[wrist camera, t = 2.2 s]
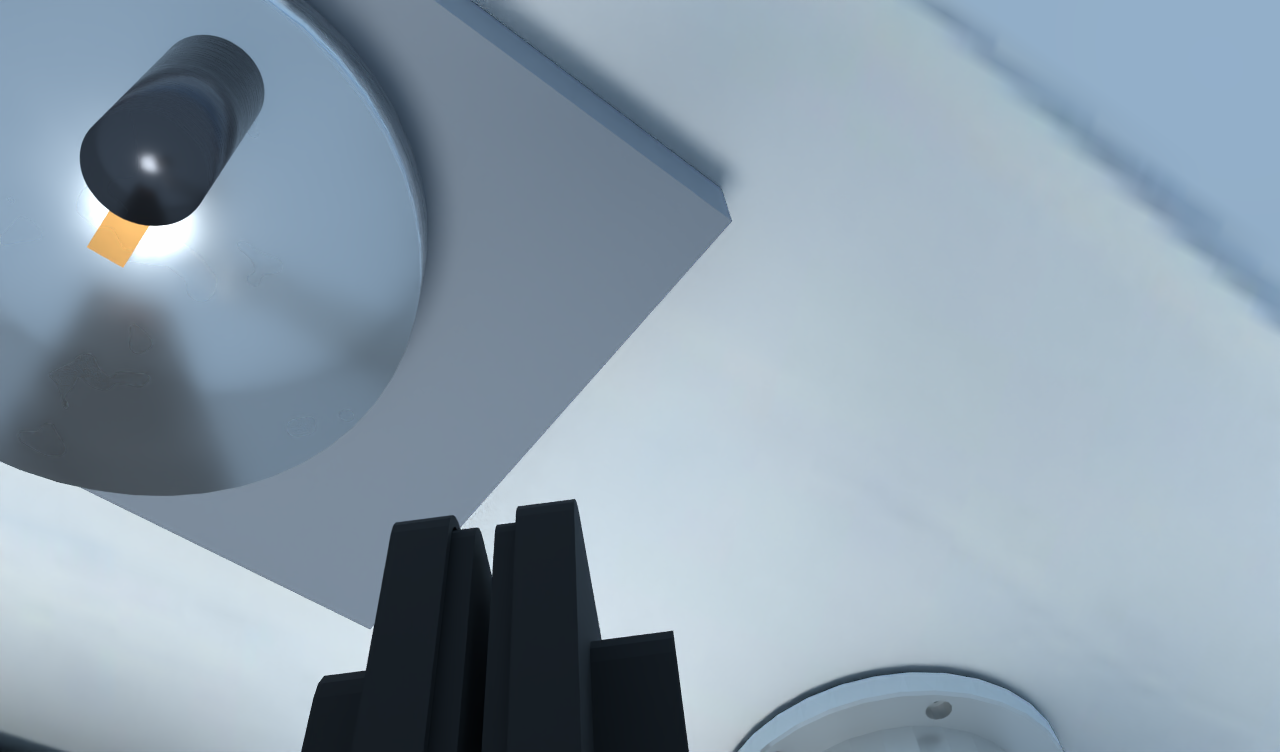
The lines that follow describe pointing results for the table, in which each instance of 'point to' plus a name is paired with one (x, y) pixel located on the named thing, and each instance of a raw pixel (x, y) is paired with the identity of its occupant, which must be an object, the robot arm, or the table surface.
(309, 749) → the robot arm
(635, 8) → the table surface
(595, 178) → the grey base plate
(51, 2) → the dial
